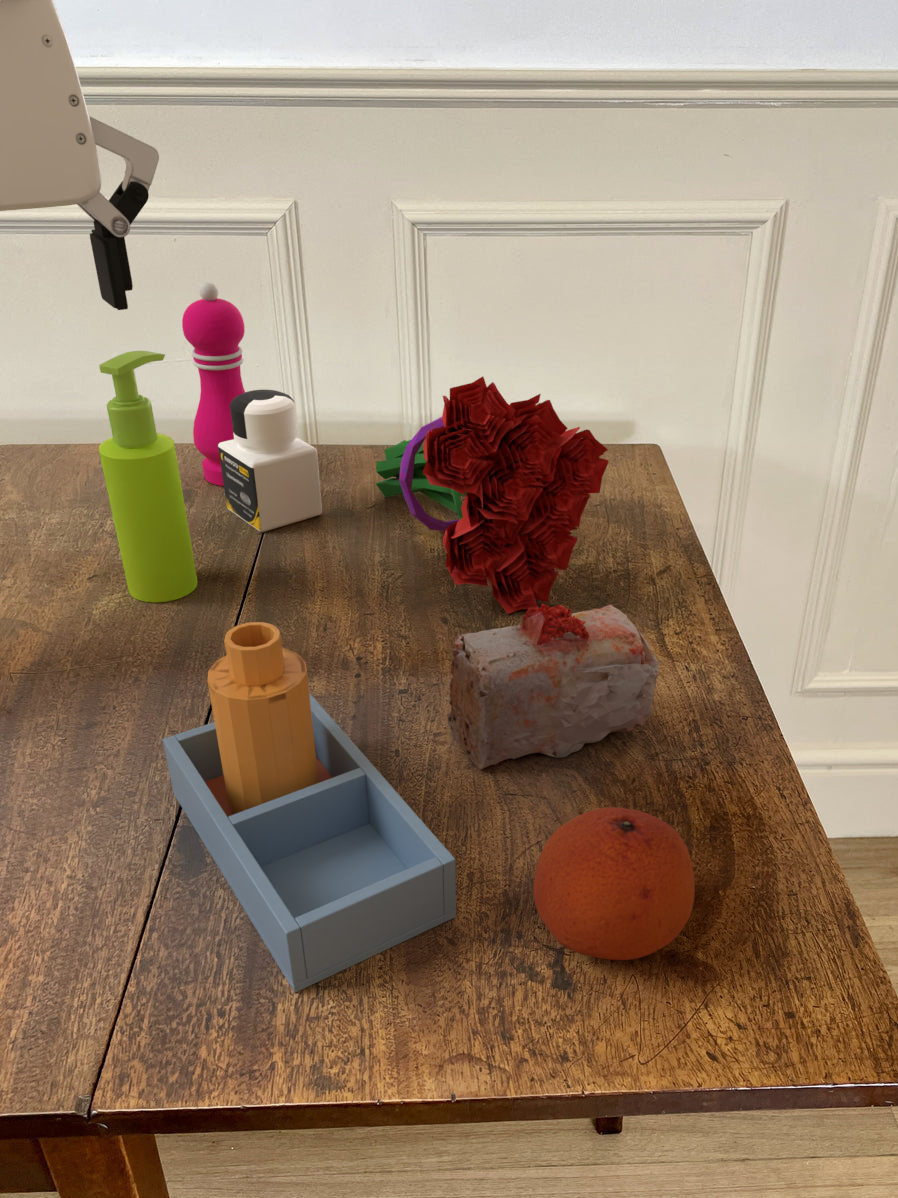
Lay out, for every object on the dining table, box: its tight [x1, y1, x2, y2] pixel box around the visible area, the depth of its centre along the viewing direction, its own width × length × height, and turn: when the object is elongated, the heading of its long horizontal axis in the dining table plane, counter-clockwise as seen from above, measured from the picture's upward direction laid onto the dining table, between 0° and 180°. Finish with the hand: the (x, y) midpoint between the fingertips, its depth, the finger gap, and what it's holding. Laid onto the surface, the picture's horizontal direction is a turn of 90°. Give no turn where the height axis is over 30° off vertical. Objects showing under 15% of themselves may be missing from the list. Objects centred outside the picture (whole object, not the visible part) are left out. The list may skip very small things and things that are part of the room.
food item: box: [447, 603, 660, 770], centre depth 72 cm, size 14×8×10 cm, turn 115°
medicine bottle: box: [218, 389, 323, 533], centre depth 101 cm, size 7×7×12 cm
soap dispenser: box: [98, 350, 199, 603], centre depth 87 cm, size 6×7×20 cm
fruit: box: [532, 806, 696, 961], centre depth 58 cm, size 9×9×8 cm
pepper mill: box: [181, 281, 246, 487], centre depth 107 cm, size 7×7×20 cm
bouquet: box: [375, 375, 609, 615], centre depth 97 cm, size 20×16×30 cm
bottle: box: [207, 621, 319, 815], centre depth 64 cm, size 6×6×12 cm
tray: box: [161, 692, 457, 993], centre depth 63 cm, size 10×19×5 cm, turn 34°
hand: (31, 315), depth 60 cm, fingers open, 9 cm apart
